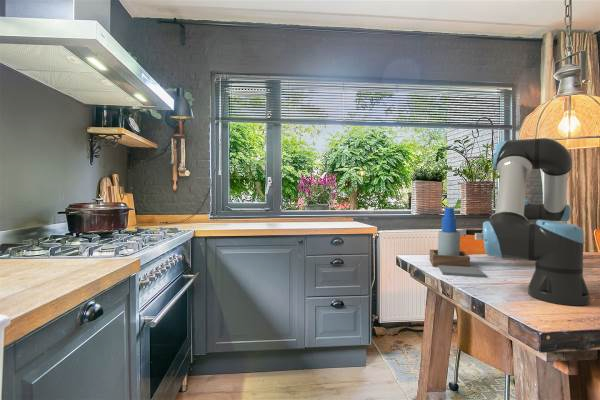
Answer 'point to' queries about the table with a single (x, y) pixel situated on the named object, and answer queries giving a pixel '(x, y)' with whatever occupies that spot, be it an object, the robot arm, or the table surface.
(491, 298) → the table surface
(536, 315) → the table surface
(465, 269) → the rubber mat
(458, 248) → the spray bottle
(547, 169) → the robot arm
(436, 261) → the walnut collar
